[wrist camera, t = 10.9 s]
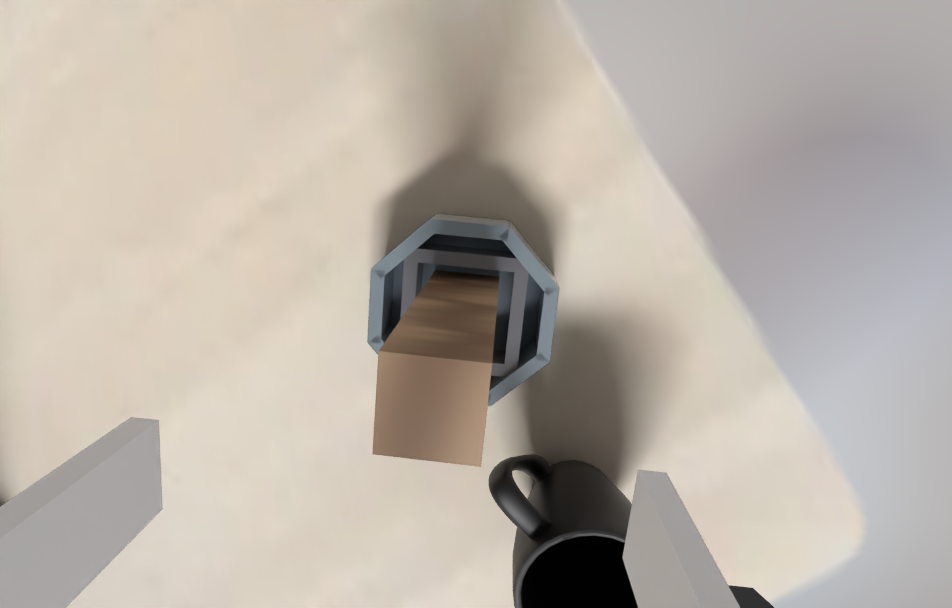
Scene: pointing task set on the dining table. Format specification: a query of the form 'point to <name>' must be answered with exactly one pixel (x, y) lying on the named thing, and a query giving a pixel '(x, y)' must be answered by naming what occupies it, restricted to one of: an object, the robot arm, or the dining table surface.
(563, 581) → the mug
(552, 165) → the dining table surface
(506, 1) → the dining table surface
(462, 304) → the wooden post
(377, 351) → the octagonal peg hole ring
